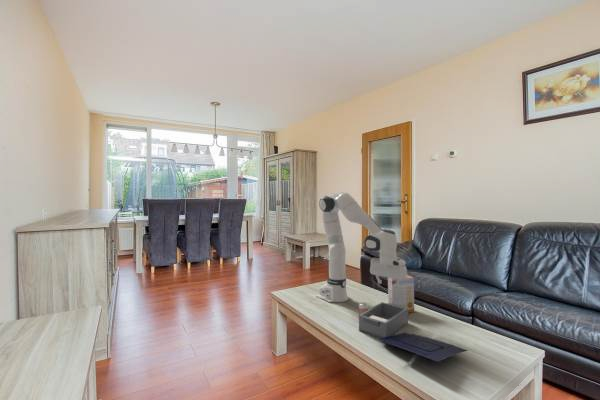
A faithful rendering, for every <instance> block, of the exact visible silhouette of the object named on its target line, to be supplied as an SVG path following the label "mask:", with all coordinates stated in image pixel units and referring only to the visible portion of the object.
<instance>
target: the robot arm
mask: <svg viewBox="0 0 600 400" xmlns="http://www.w3.org/2000/svg"><path fill="white" fill-rule="evenodd" d="M318 205H319V208H320V210H321V212H322V221H323V222H322V223H323V228H324V233H325V236H326V241H327V247H328V277H327V278H325V280H326V283H324V284H322V285H321V286H320V287H319V292H318V293H316V294H315V297H316V298H318V299H321V300H323V301H325V302H328V303H344V302H347V301H348V300H349V297H348V293H347V277H346V257H347V256H346V252H347V251H346V246H345V242H344V237H343V230H342V226H341V221H340V216H339V212H341V214H342V215H343V216H344V217H345V219H346V220H348V221H349V222H350V223H353V224H354V223H355V224H359V225H362V226H363V227H364V228H366V229H367V230H368V231H369V232H370V234H369V235H366V236H365V238H364V242H363V243H364V248H365V250H366V251H369V252H372V253H374V252H379V258H378V257H372V258H371V259H370V267H369V272H370V274H371V275H374V276H375V278H376V281H377V284H379V285H381V284H382V280H381V278H380V277H384V278H387V279H388V278H393V279H396V281H397V283H395V284H394V287H396V288H397V287H398V284H399V282H400V280H402V281H404V280H406V279H407V275H408V269H407V266H406V264H407V263H406V260H404V259H402V258H400V257H399V256H397V254H398V253H397V248H398V247H397V246H398V240H397V239H398V238H397V234H396V232H395V231H393V230H392V229H382V228H381V227H380V225H378V224H377V222H376V221H375V220H374V219H373V218H372V217H371V216H370V215H369V214H368V213H367V212H366V211H365V210H364V209H363V208H362V207H361V205H359V203H358V202H357V201H356V199H355V198H354V197H353V196H352V195H351V194H350V193H348V192H337V193H333V194H332V193H331V194H328V195H324V196H322V197H321V198H320V199H319V202H318Z"/></svg>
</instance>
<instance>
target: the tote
mask: <svg viewBox="0 0 600 400" xmlns="http://www.w3.org/2000/svg"><path fill="white" fill-rule="evenodd" d="M371 315H373V316H377V317H380V318H384V319H387V320H388V321H386V322H383V321H379V320H376V319H373V318H369V317H370V316H371ZM408 316H409V315H408V311H407V308H403V307H402V306H398V305H394V304H390V303H389V302H388V303H386V302H380V303H378V304H376V305H374V306H373V307H371V308H368V310H367V311H365V312H364V313H362V314H360V313H359V314H358V331H360V332H362V333H364V334H368V335H370V336H373V337H377V338H378V339H379V338H384V337H388V336H393V335H396V333H398V332H399V331H400V330H401V329H403V328H404V327H406V325H407V324H408Z"/></svg>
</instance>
